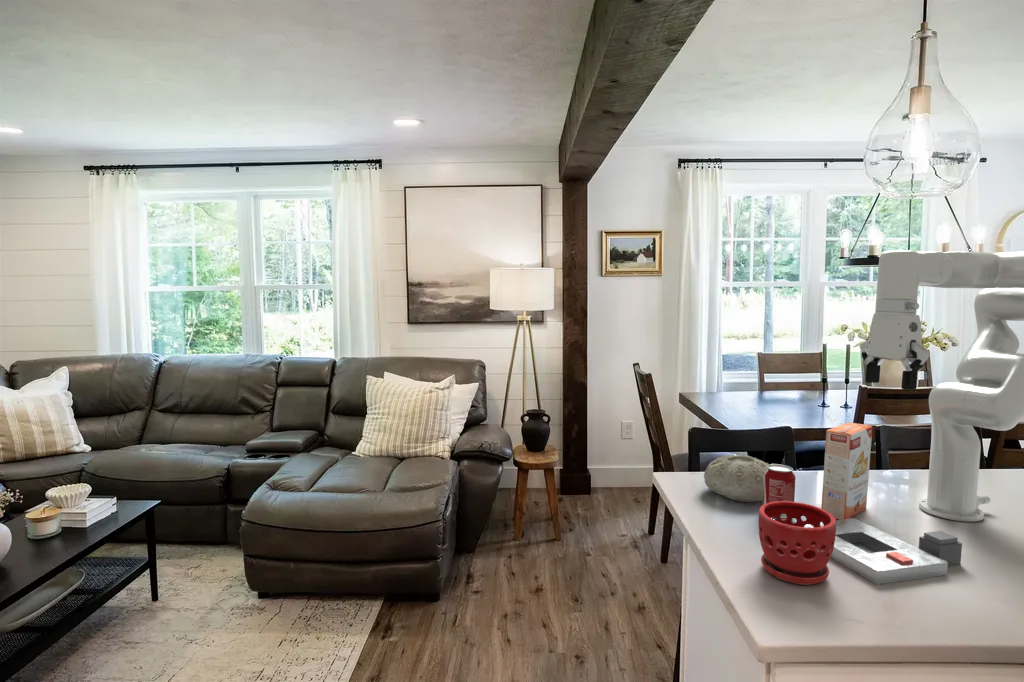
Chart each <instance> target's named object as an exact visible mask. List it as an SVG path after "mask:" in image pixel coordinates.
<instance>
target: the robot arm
mask: <svg viewBox="0 0 1024 682" xmlns="http://www.w3.org/2000/svg"><path fill="white" fill-rule="evenodd" d="M876 282H877V284H876V295H875V297H876V298H875V308H874V313H873V315H872V320H871V324H870V328H869V333H868V339H867V340H866V341H864V342H862V343H860V344H859V349H860V352H861V358H862V359H863V360H864V361H863V362H864V363H863V364H864V365H865V381H864V382H865V383H869V384H871V383H872V384H878V383H880V379H881V378H880V376H881V365H880V364H879V363H881V361H882V360H888V361H898V362H901V364H902V366H903V367H904V369H905V370H902V377H901V386H900V387H901V389H902V390H906V391H911V390H912V391H914V390H917V387H918V386H917V385H918V376H919V375H918V374H919V373H918V372H921V370H922V368H923V367H924V366H925V365H926V363H927V360H928V358H929V357H930V356H931V352H930V351H929V350H928V349H927V348H925V347H924V346H923V345H922V344H923V342H922V341H923V337H922V336H923V332H922V331H923V330H922V323H921V322H922V321H921V318H920V315H918V314H917V310H918V309H919V308H920V304H919V302H918V296H919V287H930V288H940V289H941V288H942V289H981V290H979V292H978V293H977V294H976V296H975V298H974V304H973V307H974V314H975V321H976V322H975V323H976V326H977V327H976V328H977V334H976V336H975V339H974V340H973V342H972V343H971V345H970V347H969V348H968V349H967V350H966V352H965V354H964V355H963V356H962V358H961V360H960V362H959V363H958V365H957V368H956V370H955V375H956V379H957V381H958V382H957V381H955V382H954V381H947V382H942V383H939V384H937V385H935V386H933V388H932V389H931V390H930V392H929V396H928V407H929V412H930V413H929V414H930V421H931V436H930V437H931V438H930V441H931V442H930V451H929V452H930V454H929V466H928V468H929V470H928V471H929V472H928V481H927V483H928V485H927V497H926V498H925V499H924V498H923V499H921V500H919V503H918V506H919V509H920V510H922V511H924V512H925V513H927V514H929V515H932V516H935V517H938V518H943V519H947V520H949V521H950V520H952V521H955V522H956V521H958V522H966V523H967V522H969V523H971V522H972V523H973V522H980V521H982V520H984V518H985V513H984V511H982V510H981V509H980V508H979V507H980V506H981V505H985V504H986V505H987V504H989V503H991V499H990V497H989V496H988V495H978V490H979V489H978V487H979V486H978V485H979V473H980V462H981V461H980V459H981V450H982V449H981V448H982V447H981V439H980V438H979V435H978V433H977V431H976V430H975V428H974V427H977V428H983V429H988V430H994V431H999V432H1000V431H1003V432H1004V431H1005V432H1006V431H1009V430H1012V429H1013V428H1015V427H1016V425H1018V424H1019V423H1020V421H1021V419H1022V418H1023V416H1024V353H1020V352H1018V350H1019V348H1020V341H1019V338H1018V336H1017V334H1016V333H1015V332H1014V330H1013V329H1012V328H1011V327H1010V326H1009V325H1008V322H1007V321H1011V322H1012V321H1015V322H1024V251H1010V252H1009V251H1006V252H983V251H981V252H980V251H978V252H976V251H964V250H961V251H945V252H944V251H939V250H927V251H922V250H921V251H917V250H909V249H896V250H886V251H883V252H882V253H881V254H880V255H879V260H878V268H877V281H876Z"/></svg>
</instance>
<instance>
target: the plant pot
mask: <svg viewBox="0 0 1024 682" xmlns="http://www.w3.org/2000/svg"><path fill="white" fill-rule="evenodd" d="M781 514H786V515H787V518H786V519H785V520H782V519H781V518H780V516H781ZM772 516H774V517H775V518H776V520H773V519H771V518H770V517H772ZM802 517H805V518H806V519H805V520H803V519H802ZM757 518H758V519H757V520H758V521H757V522H758V535H759V536H758V537H759V542H760V546H761V549H762V552H763V554H762V555H761V556H760V557H761V558H760V561H761V565H762V566H763V568H764V569H765V570H766V572H768V573H769V574H770V575H772V576H773V577H775V578H777V579H779V580H782V581H785V582H788V583H792V584H796V585H804V586H806V585H808V586H809V585H816V584H819V583H822V582H824V581H825V580H826V579H827V578H828V576H829V574H830V569H829V567H828V563H829V561H830V559H831V558H830V557H831V555H832V552H833V549H834V544H835V535H836V520H837V519H835V518H834V517H833V515H831V514H830V513H829V512H827V511H825V510H823V509H821V507H818V506H816V505H812V504H809V503H804V502H798V501H794V502H791V501H776V502H769V503H766V504H764V505H763V504H762V505H761V506H760V507H759V510H758V517H757ZM793 519H795V520H796V522H793V521H792V520H793ZM821 522H822V523H823V525H824V526H823V527H821V526H820V523H821ZM807 524H809V525H812V526H813V527H804V526H805V525H807Z"/></svg>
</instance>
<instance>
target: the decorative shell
mask: <svg viewBox="0 0 1024 682" xmlns="http://www.w3.org/2000/svg"><path fill="white" fill-rule="evenodd" d="M768 465H769V462H765V461H763V460H761V459H758V458H757V457H753V456H750V455H745V454H742V455H738V454H737V455H733V454H728V455H723V456H720V457H719V456H717V457H716V459H714V460H712V461H710V462H709V464H708V465H707V466H706V469H705V470H704V473H703V478H704V479H703V480H704V484H705V485H706V488H708V489H709V490H711V491H712V492H715V493H716V494H718V495H722V496H724V497H726V498H727V499H730V500H731V499H732V500H733V501H738V502H745V503H746V502H749V503H752V502H760V501H763V484H764V472H765V471H766V470H767V466H768Z"/></svg>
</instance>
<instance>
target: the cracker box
mask: <svg viewBox="0 0 1024 682" xmlns="http://www.w3.org/2000/svg"><path fill="white" fill-rule="evenodd" d="M825 434H826V435H825V446H824V447H825V449H824V450H825V451H824V464H823V465H824V466H823V475H822V477H823V478H822V490H821V492H822V493H821V507H820V508H821V509H823V510H825V511H827V512H829V513H830V514H831V515H833V517H834V518H835V520H837V519H838V520H843V519H852V518H854V516H856V515H858V514H859V513H861V512H862V511H864V510H866V509H867V501H868V489H869V477H870V476H869V475H870V464H871V449H872V437H873V426H872V425H869V424H862V423H855V422H845V423H843V424H841V425H838V426H834V427H832V428H829V429H827V430H826V433H825Z"/></svg>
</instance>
